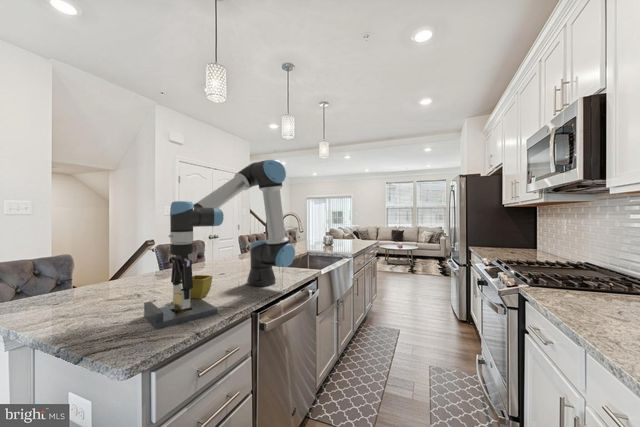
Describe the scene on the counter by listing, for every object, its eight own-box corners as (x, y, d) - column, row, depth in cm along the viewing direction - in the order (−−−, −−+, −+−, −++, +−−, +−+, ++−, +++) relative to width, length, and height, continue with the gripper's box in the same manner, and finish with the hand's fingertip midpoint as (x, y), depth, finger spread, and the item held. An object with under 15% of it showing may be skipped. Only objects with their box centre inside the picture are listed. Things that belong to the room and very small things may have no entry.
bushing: (185, 311, 101) (186, 290, 101) (190, 315, 97) (190, 293, 97) (172, 315, 97) (172, 293, 97) (176, 318, 94) (176, 295, 94)
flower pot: (213, 294, 123) (213, 275, 123) (202, 300, 114) (203, 279, 115) (195, 294, 124) (195, 274, 124) (183, 300, 115) (183, 279, 115)
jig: (200, 303, 110) (200, 291, 110) (217, 313, 99) (217, 300, 99) (144, 316, 96) (144, 302, 96) (156, 329, 85) (156, 313, 85)
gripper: (161, 242, 103) (161, 301, 102) (180, 246, 88) (180, 315, 87) (182, 240, 108) (182, 296, 107) (203, 244, 93) (203, 309, 93)
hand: (181, 305), depth 97 cm, fingers open, 8 cm apart
